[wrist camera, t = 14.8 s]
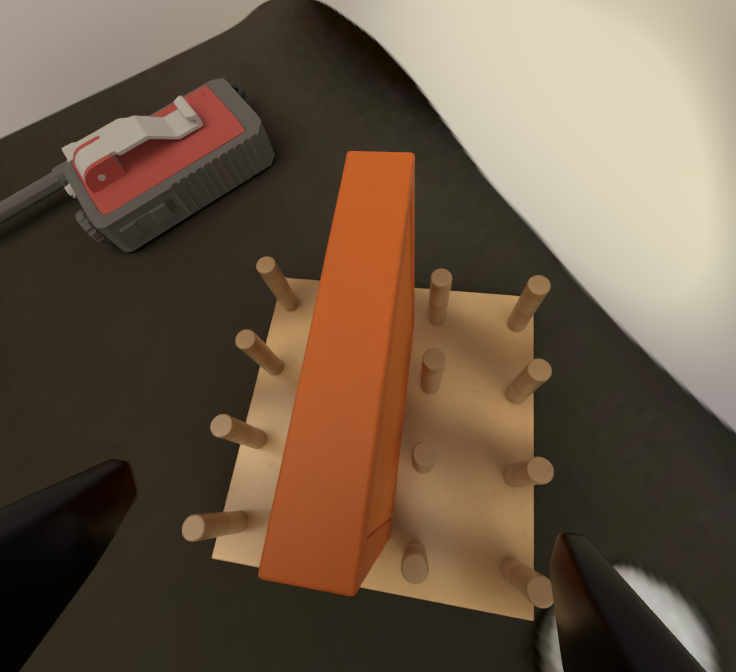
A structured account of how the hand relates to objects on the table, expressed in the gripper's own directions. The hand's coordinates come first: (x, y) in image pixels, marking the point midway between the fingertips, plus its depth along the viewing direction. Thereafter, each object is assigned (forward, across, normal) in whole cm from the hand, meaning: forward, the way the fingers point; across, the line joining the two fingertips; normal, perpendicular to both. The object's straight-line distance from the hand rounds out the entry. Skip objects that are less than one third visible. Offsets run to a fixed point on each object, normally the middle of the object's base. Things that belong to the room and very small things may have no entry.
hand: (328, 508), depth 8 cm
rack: (+10, 0, +5) cm, 11 cm away
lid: (+10, 0, +4) cm, 11 cm away
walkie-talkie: (+19, +18, -4) cm, 27 cm away
